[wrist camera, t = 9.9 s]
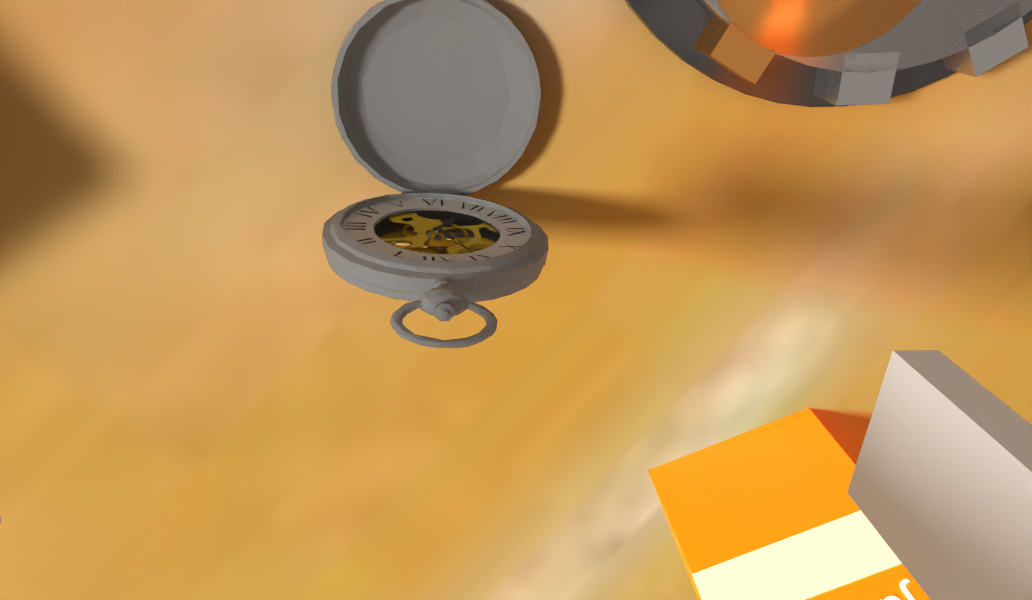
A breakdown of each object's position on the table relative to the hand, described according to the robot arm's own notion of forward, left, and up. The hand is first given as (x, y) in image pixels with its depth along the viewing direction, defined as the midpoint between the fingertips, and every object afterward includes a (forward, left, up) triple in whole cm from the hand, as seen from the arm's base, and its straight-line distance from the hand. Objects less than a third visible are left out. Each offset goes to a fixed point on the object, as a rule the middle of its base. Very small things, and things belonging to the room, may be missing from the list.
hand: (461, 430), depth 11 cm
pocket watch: (0, 0, -17) cm, 17 cm away
